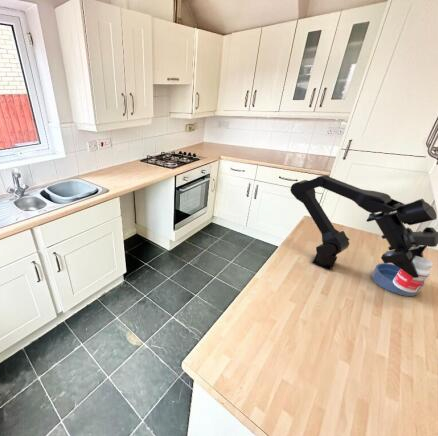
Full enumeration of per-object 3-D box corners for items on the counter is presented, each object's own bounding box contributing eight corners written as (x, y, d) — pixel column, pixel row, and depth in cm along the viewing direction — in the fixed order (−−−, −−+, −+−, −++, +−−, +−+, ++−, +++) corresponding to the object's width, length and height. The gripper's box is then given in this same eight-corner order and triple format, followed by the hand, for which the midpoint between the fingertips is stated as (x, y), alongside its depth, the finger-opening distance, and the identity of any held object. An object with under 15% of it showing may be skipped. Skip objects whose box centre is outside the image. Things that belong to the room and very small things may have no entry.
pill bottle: (388, 278, 85) (404, 252, 79) (410, 282, 83) (429, 256, 77) (397, 290, 80) (414, 264, 74) (421, 295, 78) (441, 269, 72)
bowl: (368, 283, 92) (373, 274, 90) (373, 267, 100) (378, 258, 98) (416, 303, 84) (423, 293, 81) (418, 283, 91) (424, 274, 89)
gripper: (414, 230, 69) (447, 282, 66) (436, 213, 77) (466, 259, 74) (369, 239, 79) (396, 285, 76) (393, 224, 87) (418, 265, 84)
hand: (420, 273), depth 77 cm, fingers closed on pill bottle, 6 cm apart
